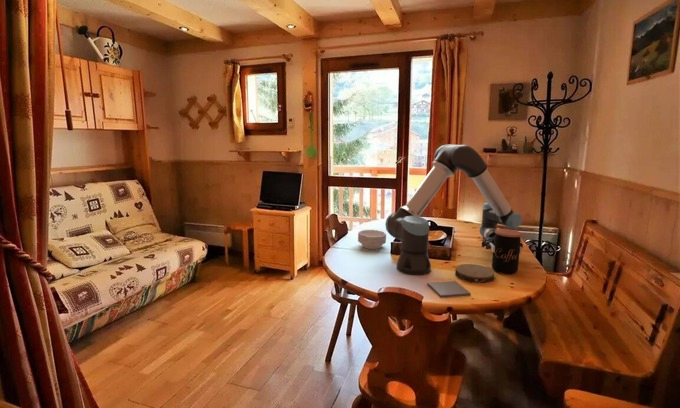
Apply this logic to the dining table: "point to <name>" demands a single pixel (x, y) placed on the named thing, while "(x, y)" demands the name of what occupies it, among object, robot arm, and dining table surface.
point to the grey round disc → (474, 273)
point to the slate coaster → (448, 289)
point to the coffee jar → (506, 251)
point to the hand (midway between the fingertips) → (507, 250)
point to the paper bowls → (371, 238)
